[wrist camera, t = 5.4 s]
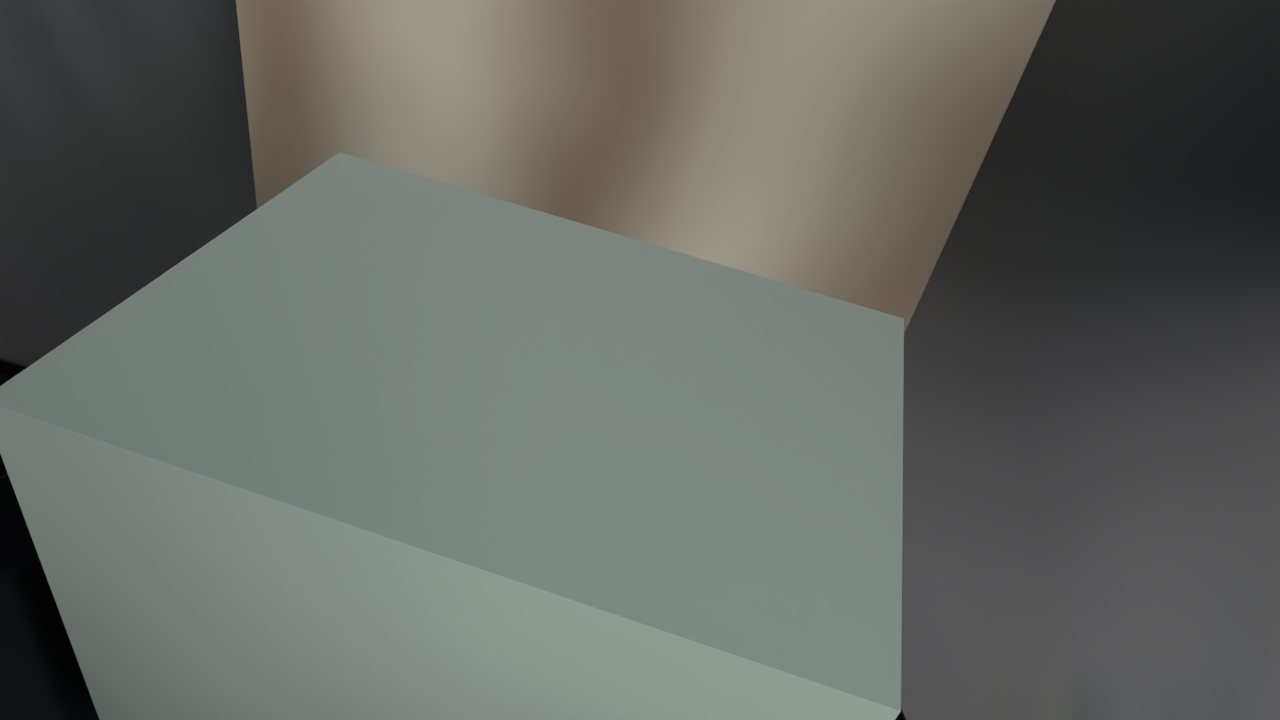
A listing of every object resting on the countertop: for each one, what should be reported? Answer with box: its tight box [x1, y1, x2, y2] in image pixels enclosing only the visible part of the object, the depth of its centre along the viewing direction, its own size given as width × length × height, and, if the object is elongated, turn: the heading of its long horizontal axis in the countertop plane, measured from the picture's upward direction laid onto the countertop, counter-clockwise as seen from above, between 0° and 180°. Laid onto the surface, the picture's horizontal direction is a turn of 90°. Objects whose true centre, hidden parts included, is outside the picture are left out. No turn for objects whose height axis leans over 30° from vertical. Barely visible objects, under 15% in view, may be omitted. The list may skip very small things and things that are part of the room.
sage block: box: [0, 152, 904, 720], centre depth 8 cm, size 6×6×4 cm
